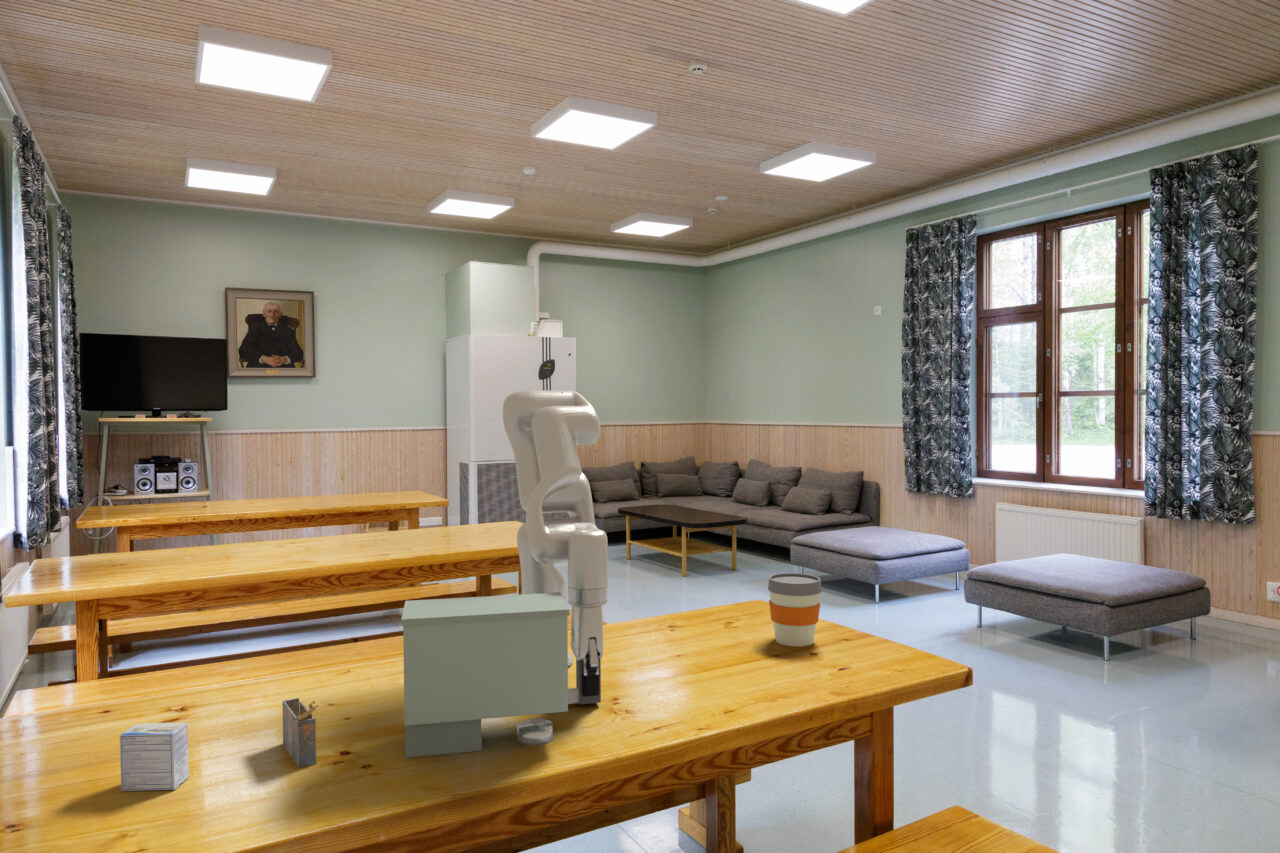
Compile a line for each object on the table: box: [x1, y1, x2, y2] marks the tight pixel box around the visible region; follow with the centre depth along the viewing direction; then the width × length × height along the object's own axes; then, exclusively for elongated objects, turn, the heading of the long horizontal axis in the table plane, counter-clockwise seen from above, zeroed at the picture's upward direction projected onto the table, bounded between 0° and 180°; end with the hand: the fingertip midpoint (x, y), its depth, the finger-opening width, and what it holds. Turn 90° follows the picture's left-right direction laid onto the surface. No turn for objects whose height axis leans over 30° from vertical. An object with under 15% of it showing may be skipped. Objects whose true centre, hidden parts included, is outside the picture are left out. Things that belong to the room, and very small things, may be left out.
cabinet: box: [400, 592, 570, 759], centre depth 139 cm, size 13×27×23 cm, turn 103°
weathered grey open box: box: [282, 697, 319, 769], centre depth 134 cm, size 11×3×10 cm, turn 35°
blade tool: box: [568, 655, 602, 705], centre depth 155 cm, size 4×18×9 cm, turn 103°
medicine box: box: [119, 722, 190, 792], centre depth 123 cm, size 8×4×9 cm, turn 92°
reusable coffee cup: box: [767, 572, 822, 647], centre depth 197 cm, size 13×13×15 cm
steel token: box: [516, 717, 554, 747], centre depth 140 cm, size 6×6×2 cm
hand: (588, 690), depth 156 cm, fingers closed on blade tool, 4 cm apart
